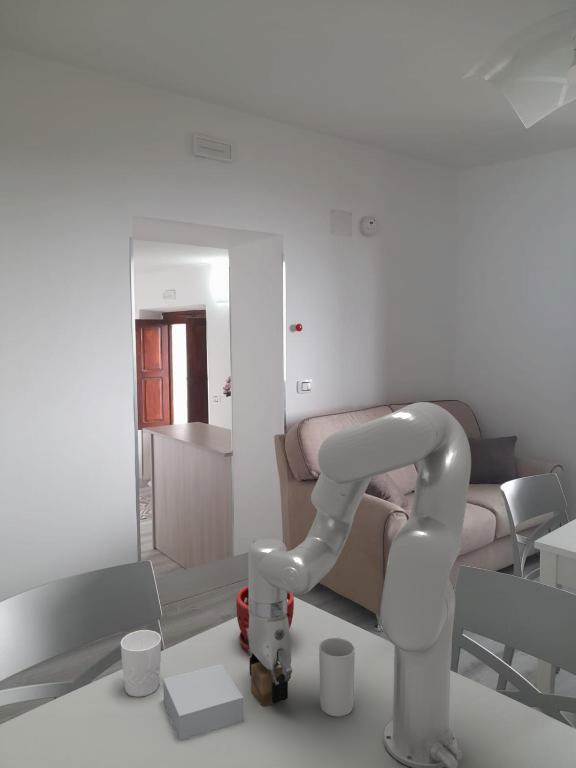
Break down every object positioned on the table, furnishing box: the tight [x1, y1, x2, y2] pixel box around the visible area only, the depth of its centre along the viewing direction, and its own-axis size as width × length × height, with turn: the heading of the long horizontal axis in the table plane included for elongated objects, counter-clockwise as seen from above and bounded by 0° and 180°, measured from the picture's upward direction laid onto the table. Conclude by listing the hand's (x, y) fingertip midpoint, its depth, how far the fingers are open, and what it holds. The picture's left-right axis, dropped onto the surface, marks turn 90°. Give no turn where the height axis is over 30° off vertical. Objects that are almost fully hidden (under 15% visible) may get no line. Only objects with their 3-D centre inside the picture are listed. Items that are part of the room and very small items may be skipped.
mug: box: [318, 636, 356, 717], centre depth 114 cm, size 10×7×12 cm, turn 172°
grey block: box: [162, 663, 244, 741], centre depth 111 cm, size 12×12×5 cm
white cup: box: [120, 629, 162, 698], centre depth 118 cm, size 8×8×10 cm
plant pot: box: [235, 585, 295, 651], centre depth 134 cm, size 13×13×12 cm
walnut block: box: [250, 661, 282, 708], centre depth 116 cm, size 5×5×6 cm
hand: (268, 686), depth 116 cm, fingers open, 9 cm apart
